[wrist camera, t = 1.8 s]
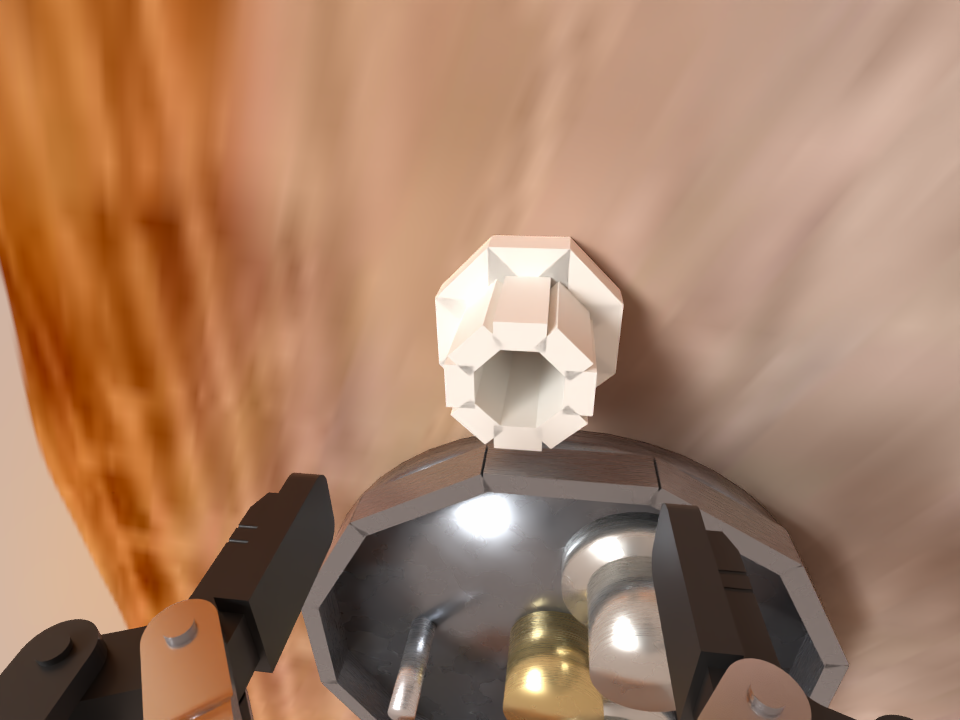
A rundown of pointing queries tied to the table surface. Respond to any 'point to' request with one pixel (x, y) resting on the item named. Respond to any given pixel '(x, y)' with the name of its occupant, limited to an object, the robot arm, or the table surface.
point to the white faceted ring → (527, 339)
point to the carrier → (537, 585)
